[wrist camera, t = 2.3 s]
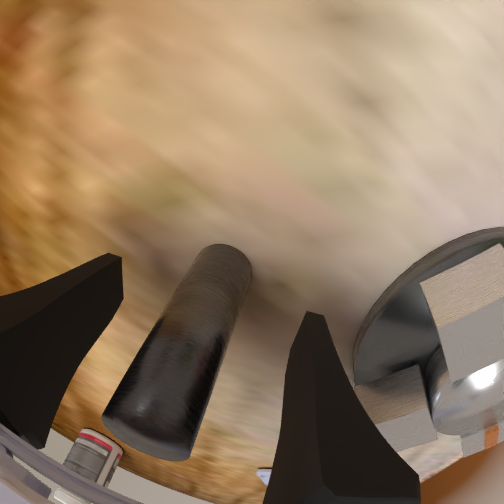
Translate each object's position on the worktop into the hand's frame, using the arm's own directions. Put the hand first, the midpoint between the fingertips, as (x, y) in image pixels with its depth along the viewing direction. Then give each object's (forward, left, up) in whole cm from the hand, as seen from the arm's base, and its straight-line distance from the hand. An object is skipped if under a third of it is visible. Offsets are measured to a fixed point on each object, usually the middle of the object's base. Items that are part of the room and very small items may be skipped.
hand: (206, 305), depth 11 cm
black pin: (0, 0, -2) cm, 2 cm away
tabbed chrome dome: (-7, -11, -1) cm, 13 cm away
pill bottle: (-19, +23, -3) cm, 30 cm away
